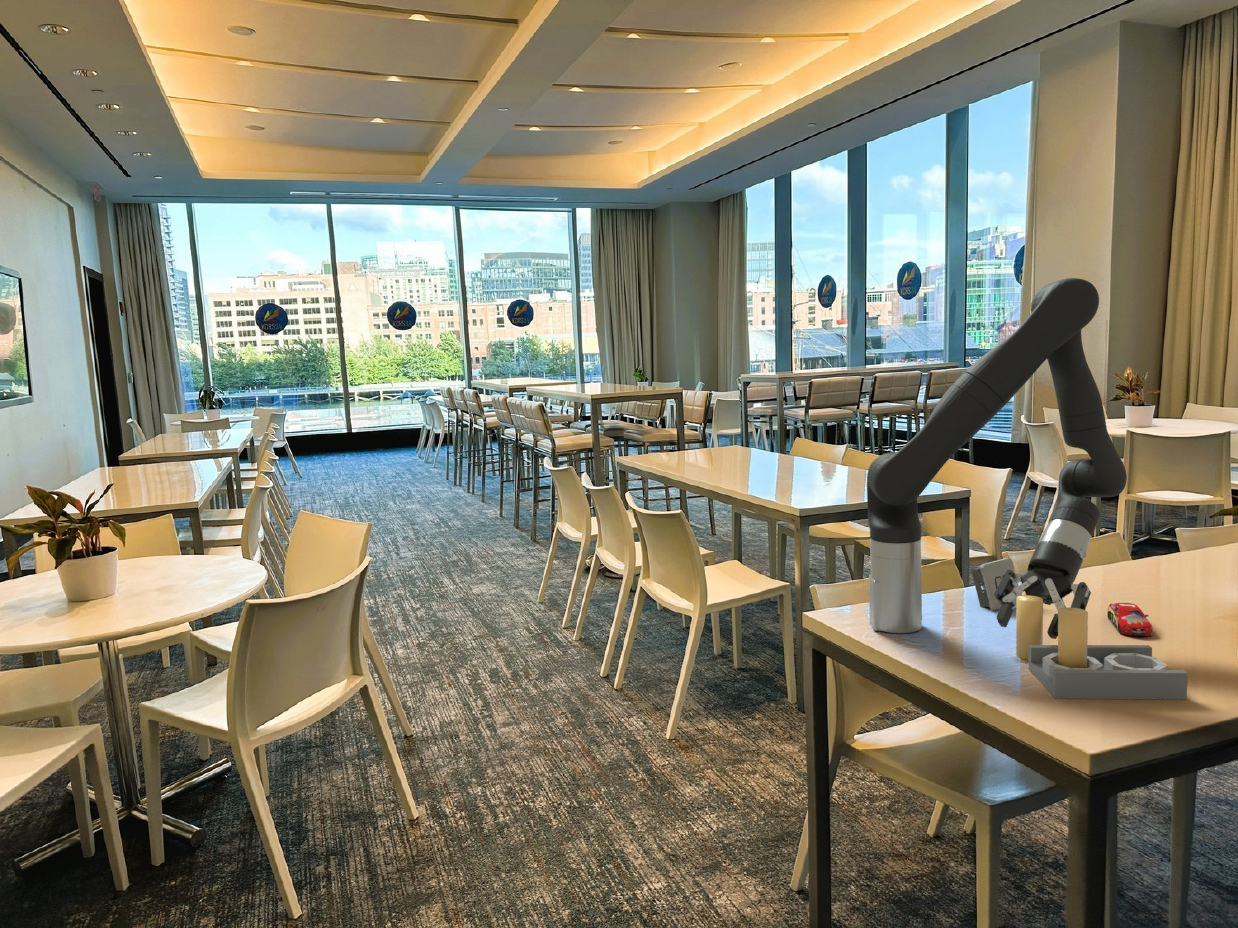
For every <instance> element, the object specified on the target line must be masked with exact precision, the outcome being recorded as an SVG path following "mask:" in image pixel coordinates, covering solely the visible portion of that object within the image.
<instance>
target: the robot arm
mask: <svg viewBox="0 0 1238 928" xmlns="http://www.w3.org/2000/svg"><path fill="white" fill-rule="evenodd" d="M1099 305H1100V295H1099V292H1098V289H1097V288H1096V287H1095V285H1094V284H1093V283H1091V282H1090V281H1089V280H1086V279H1083V278H1076V277H1075V278H1074V277H1073V278H1072V277H1070V278H1063V279H1059V280H1057V281H1053V282H1050V283H1048V284H1046V285H1044V286H1043V287H1040V289H1039V290H1038V291H1037V292H1036V293H1035V295H1033V298H1032V300H1031V305H1030V314H1029V315H1028V316H1027V318H1026V319H1025V320H1024V321H1023V322H1022V323H1021V324H1020V326H1019V327H1018V328H1017V329H1016V330H1015V331H1013V332H1012V333H1011V335H1009V336H1008V337H1007V338H1005V339H1004V340H1002V341H1001V342H1000V343H998V344H997V345H996V346H994V347H993V348H992V349H990V350H989V351H987V352H986V353H985V354H983V355H982V356H980V358H979V359H978V360H976V361H975V362H973V364H971V365H970V366H969V367H968V368H967V369H966V370H965V371H964V372H963V373H962V374H961V375H960V376H959V377H958V378H957V379H956V380H955V381H954V382H953V383H952V384H951V386H950V387H949V388H948V389H947V390H946V391H945V392H944V394H943V395H942V397H941V398H940V399H939V401H938V402H937V404H936V406H935V407H934V409H933V410H932V412H931V414H930V416H929V417H928V418H927V420H926V422H925V423H924V425H923V426H922V427H921V429H920V430H919V431H918V432H917V433H916V434H915V435H914V437H912V438H911V439H910V440H909V441H908V442H906V444H905V445H904V446H902V448H900V449H899V450H897V452H887V453H883V454H881V455H879V456H877V457H876V458H875V459H874V460H873V461H872V462H871V464H870V465H869V468H868V469H867V470H868V471H867V474H866V499H867V501H866V502H867V519H868V520H867V521H868V526H869V537H870V538H869V542H870V545H869V546H870V550H869V551H870V553H869V554H870V556H869V557H870V573H869V575H868V597H869V598H868V600H869V603H868V604H869V606H868V607H869V622H870V625H871V628H872V629H873V631H877V632H885V633H892V634H908V633H915V632H918V631H920V630H921V629H922V627H923V623H922V622H923V611H922V610H923V609H922V607H923V604H922V603H923V602H922V601H923V599H922V597H923V596H922V594H923V593H922V586H923V585H922V525H921V522H920V518H919V517H920V516H919V512H918V511H919V510H918V497H920V496H921V494H922V493H923V492H924V491H925V489H926V488H927V487H928V486H929V485H930V483H931V482H932V480H933V479H934V478H935V477H936V475H937V474H938V473H939V471H940V470H941V469H942V468H943V467H944V465H945V464H946V463H947V462H948V461H949V460H950V459H951V458H952V456H953V455H955V454H956V453H957V452H958V451H959V450H960V449H961V448H962V447H963V446H964V445H966V444H967V443H968V442H969V441H970V440H971V439H972V438H973V437H974V436H975V435H977V433H978V432H980V430H981V429H983V428H984V427H985V426H986V425H987V424H988V423H989V422H990V421H991V420H992V419H993V418H994V417H995V416H996V415H997V414H998V413H999V412H1000V411H1001V410H1002V409H1003V408H1004V407H1005V406H1006V405H1007V404H1008V403H1009V401H1011V400H1012V398H1013V397H1014V396H1015V395H1016V393H1018V392H1019V391H1020V390H1021V389H1022V388H1023V387H1024V385H1025V384H1026V383H1027V382H1028V381H1029V380H1030V378H1031V377H1032V376H1033V375H1034V374H1035V373H1036V372H1037V370H1038V369H1039V368H1040V367H1041V366H1042V365H1043V364H1044V363H1045V361H1046V360H1047V363H1048V366H1049V370H1050V374H1051V378H1052V383H1053V387H1054V391H1055V397H1056V403H1057V408H1058V409H1057V410H1058V413H1059V414H1058V415H1059V419H1060V420H1059V421H1060V426H1061V431H1062V436H1063V441H1064V443H1065V445H1067V446H1068V447H1071V448H1075V449H1080V450H1083V451H1085V452H1086V453H1087V455H1088V456H1089V458H1078V459H1072V460H1070V461H1068V462H1067V463H1065V465H1064V466H1063V467H1062V468H1061V470H1060V472H1059V477H1058V490H1057V497H1056V506H1055V508H1054V511H1053V512H1052V515H1051V517H1050V520H1049V521H1048V524H1047V525H1046V527H1045V528H1044V530H1043V531H1042V534H1041V536H1040V538H1039V539H1038V542H1037V545H1036V547H1035V549H1034V551H1033V553H1032V555H1031V558H1030V560H1029V562H1028V566H1027V570H1025V572H1024V573H1022V574H1021V573H1016V572H1015V573H1014V572H1013V571H1012V570H1011V569H1009V570H1007V571H1006V573H1005V575H1004V577H1003V578H1002V580H1001V582H1000V584H999V586H998V588H997V590H996V591H995V593H994V596H995V597H996V599H997V600H998V602H999V603H1000V604H1002V605H1001V607H1000V609H998V612H997V614H996V620H997V623H998V624H999V626H1000V627H1001V628H1007V627H1008V624H1009V623H1010V620H1011V617H1012V616H1013V613H1014V611H1015V610H1014V609H1015V608H1016V605H1017V597H1018V596H1036V597H1040V598H1042V599H1043V605H1048V606H1051V605H1052V604H1053V605H1054V606H1055V610H1056V611H1057V613H1054V614H1053V617H1052V620H1051V621H1050V624H1049V626H1048V629H1047V635H1048V636H1049V639H1054V640H1056V639H1058V610H1059V609H1060V608H1067V606H1066V604H1065V600H1064V598H1065V597H1066V596H1068V595H1069V594H1071V593H1073V595H1074V596H1073V598H1072V599H1073V600H1072V602H1071V605H1070V608H1079V609H1083V610H1086V608H1087V606H1088V602H1089V600H1090V597H1091V593H1092V592H1091V590H1090V588H1089V586H1088V585H1087V583H1086V582H1084V581H1081V582H1079V583H1078V584H1077V583H1074V582H1075V580H1076V579H1077V575H1078V574H1079V571H1080V569H1081V566H1082V564H1083V561H1084V560H1085V559H1086V557H1087V553H1088V549H1089V547H1090V544H1091V543H1090V542H1091V539H1092V537H1093V534H1094V532H1095V529H1096V527H1097V524H1099V520H1100V516H1101V515H1100V514H1101V513H1100V509H1099V507H1098V505H1096V504H1095V502H1092V501H1091V500H1088V499H1087V498H1112V497H1116V496H1119V495H1120V494H1121V493H1122V492H1123V491H1124V489H1125V488H1126V485H1127V480H1128V477H1127V476H1128V475H1127V470H1126V467H1125V465H1124V462H1123V460H1122V458H1121V457H1120V454H1119V453H1118V451H1117V449H1116V447H1115V445H1114V442H1113V441H1112V438H1111V436H1110V434H1109V432H1108V427H1107V422H1106V415H1105V409H1104V406H1103V400H1102V397H1101V394H1100V391H1099V388H1098V385H1097V383H1096V379H1095V378H1094V376H1093V374H1092V371H1091V369H1090V366H1089V364H1088V362H1087V357H1086V354H1085V352H1084V346H1083V341H1082V329H1084V328H1085V327H1086V326H1087V325H1089V324H1090V322H1091V321H1092V320H1093V319H1094V318H1095V315H1096V314H1097V312H1098V308H1099ZM1019 583H1020V584H1019ZM1017 584H1018V585H1019V586H1017ZM1014 586H1017V587H1016V588H1014ZM1013 588H1014V589H1013ZM1012 590H1013V592H1012ZM1023 593H1025V594H1023Z"/></svg>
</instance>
